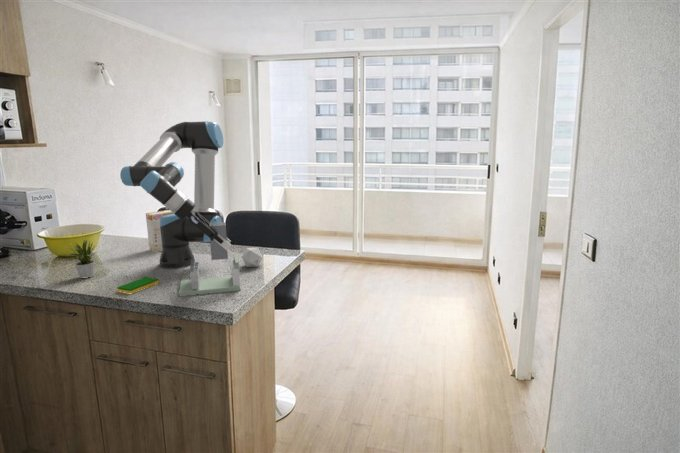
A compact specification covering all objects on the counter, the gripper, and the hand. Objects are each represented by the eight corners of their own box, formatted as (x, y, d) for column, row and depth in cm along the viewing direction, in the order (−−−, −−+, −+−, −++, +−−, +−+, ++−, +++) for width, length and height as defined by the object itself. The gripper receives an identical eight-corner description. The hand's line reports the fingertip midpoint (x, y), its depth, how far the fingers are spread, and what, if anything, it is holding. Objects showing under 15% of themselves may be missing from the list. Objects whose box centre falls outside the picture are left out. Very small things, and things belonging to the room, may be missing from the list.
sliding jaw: (193, 279, 176) (191, 259, 174) (199, 278, 176) (198, 258, 175) (191, 290, 164) (189, 268, 162) (198, 289, 164) (196, 268, 162)
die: (252, 271, 193) (265, 251, 194) (235, 261, 194) (247, 241, 195) (256, 272, 201) (268, 253, 203) (239, 262, 202) (251, 243, 203)
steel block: (211, 256, 172) (209, 223, 169) (227, 254, 174) (225, 222, 171) (211, 260, 166) (209, 226, 164) (227, 258, 168) (225, 225, 165)
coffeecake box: (177, 244, 238) (174, 209, 234) (182, 247, 233) (179, 210, 229) (148, 249, 229) (145, 212, 225) (154, 252, 223) (150, 214, 219)
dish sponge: (159, 284, 177) (158, 278, 177) (130, 295, 165) (129, 289, 164) (146, 282, 180) (145, 276, 180) (117, 293, 168) (116, 287, 167)
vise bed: (181, 284, 176) (179, 257, 173) (238, 278, 181) (236, 253, 179) (179, 296, 162) (176, 267, 160) (240, 290, 168) (238, 262, 166)
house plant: (69, 273, 191) (64, 236, 187) (105, 269, 196) (100, 233, 193) (63, 283, 178) (58, 244, 174) (102, 278, 183) (97, 240, 180)
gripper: (175, 209, 171) (221, 246, 179) (170, 217, 153) (222, 259, 161) (188, 194, 172) (234, 233, 179) (185, 201, 154) (236, 244, 161)
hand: (228, 245), depth 170 cm, fingers closed on steel block, 6 cm apart
